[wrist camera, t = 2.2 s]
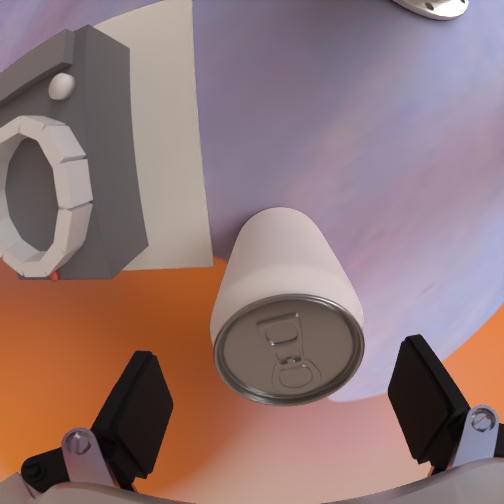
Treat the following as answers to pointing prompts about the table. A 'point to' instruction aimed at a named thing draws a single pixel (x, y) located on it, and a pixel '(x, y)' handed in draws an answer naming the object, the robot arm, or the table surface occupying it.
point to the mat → (166, 134)
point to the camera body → (69, 160)
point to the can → (285, 314)
